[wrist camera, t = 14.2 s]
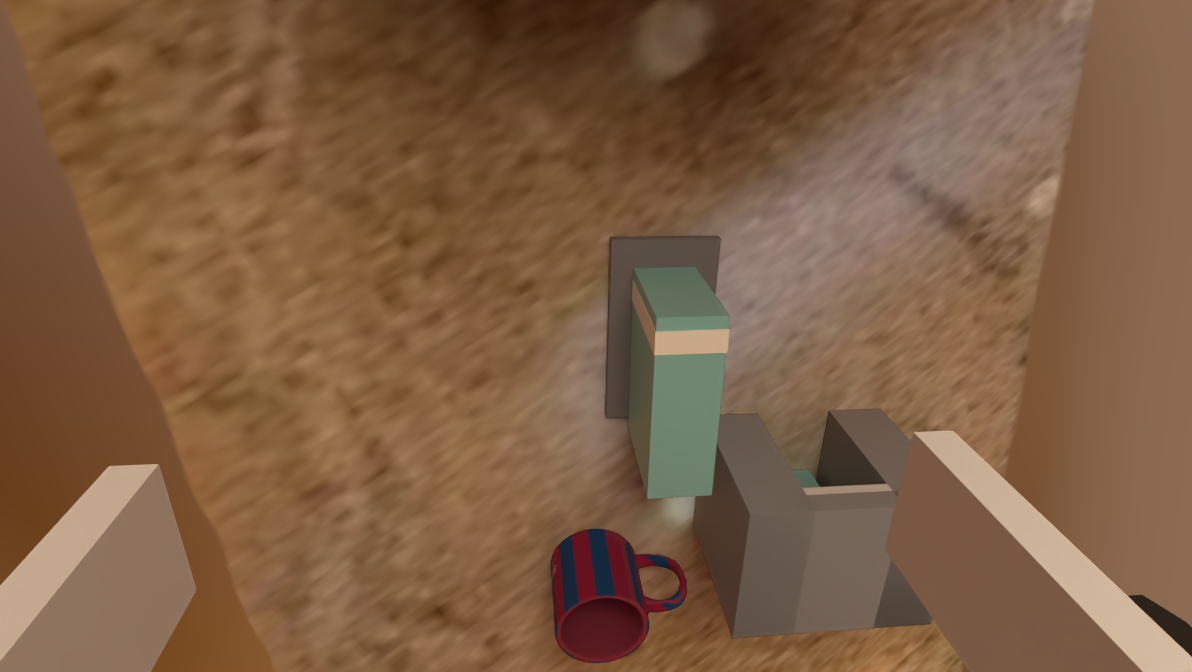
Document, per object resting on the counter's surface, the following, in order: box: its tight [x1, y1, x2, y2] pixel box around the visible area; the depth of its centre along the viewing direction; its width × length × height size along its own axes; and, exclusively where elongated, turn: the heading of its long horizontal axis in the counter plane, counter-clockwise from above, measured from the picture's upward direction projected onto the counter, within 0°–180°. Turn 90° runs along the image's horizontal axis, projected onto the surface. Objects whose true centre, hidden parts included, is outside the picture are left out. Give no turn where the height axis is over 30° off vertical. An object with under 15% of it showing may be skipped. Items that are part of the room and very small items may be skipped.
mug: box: [551, 529, 687, 663], centre depth 51 cm, size 7×10×7 cm
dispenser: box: [693, 409, 932, 638], centre depth 48 cm, size 10×14×11 cm
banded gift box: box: [628, 267, 730, 499], centre depth 43 cm, size 12×4×8 cm, turn 179°
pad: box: [605, 236, 721, 418], centre depth 46 cm, size 13×7×1 cm, turn 179°
